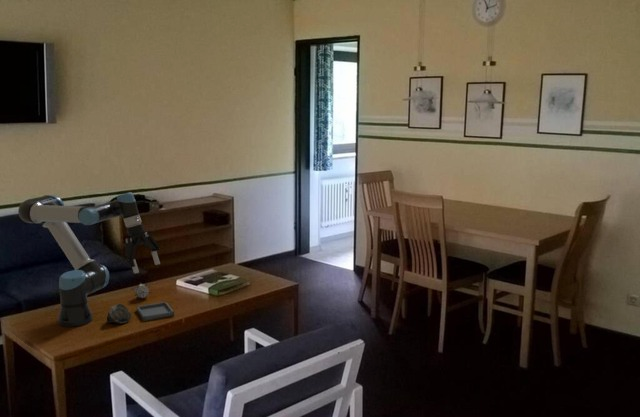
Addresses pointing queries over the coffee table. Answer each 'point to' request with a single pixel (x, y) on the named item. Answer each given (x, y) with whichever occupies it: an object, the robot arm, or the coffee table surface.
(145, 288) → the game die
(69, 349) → the coffee table surface
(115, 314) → the fossil
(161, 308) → the tray
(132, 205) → the robot arm
